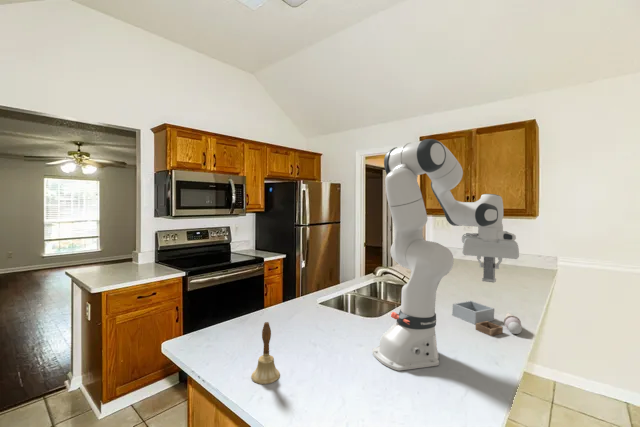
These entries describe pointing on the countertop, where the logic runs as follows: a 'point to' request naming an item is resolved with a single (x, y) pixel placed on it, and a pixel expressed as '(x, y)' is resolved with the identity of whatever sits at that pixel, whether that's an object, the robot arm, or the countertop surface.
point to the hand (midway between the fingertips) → (489, 267)
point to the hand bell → (265, 362)
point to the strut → (489, 270)
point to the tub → (473, 312)
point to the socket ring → (489, 328)
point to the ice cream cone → (512, 323)
